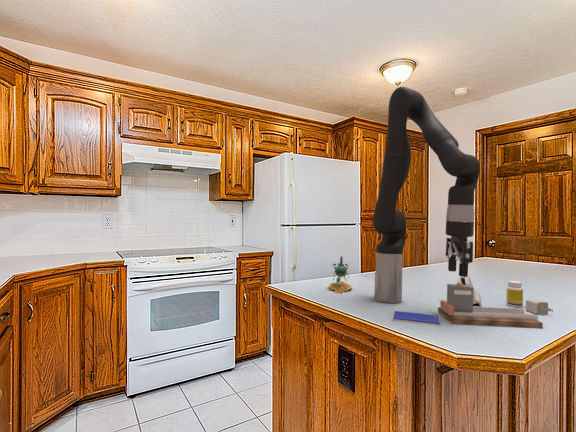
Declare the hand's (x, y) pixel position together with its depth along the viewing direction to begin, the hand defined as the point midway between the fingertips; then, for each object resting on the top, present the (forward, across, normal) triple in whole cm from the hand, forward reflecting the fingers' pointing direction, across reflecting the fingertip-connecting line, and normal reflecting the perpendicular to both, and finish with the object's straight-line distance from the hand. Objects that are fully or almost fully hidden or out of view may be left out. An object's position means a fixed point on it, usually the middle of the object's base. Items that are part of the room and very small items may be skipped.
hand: (457, 273), depth 101 cm
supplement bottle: (+13, -19, +27) cm, 35 cm away
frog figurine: (+15, -35, -33) cm, 50 cm away
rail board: (+13, 0, +9) cm, 16 cm away
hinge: (+14, -24, +14) cm, 31 cm away
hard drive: (+14, +4, -12) cm, 19 cm away
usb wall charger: (+13, -10, +30) cm, 34 cm away
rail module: (+12, 0, +1) cm, 12 cm away
